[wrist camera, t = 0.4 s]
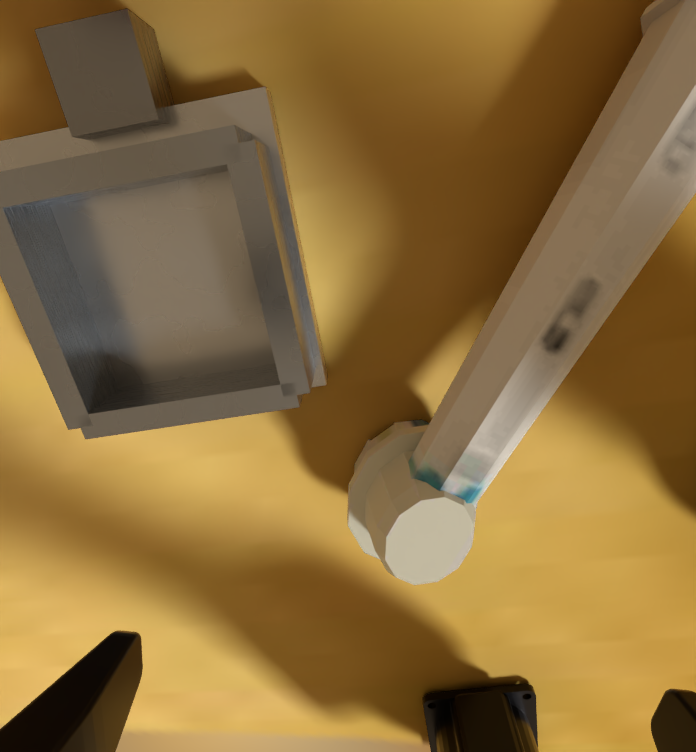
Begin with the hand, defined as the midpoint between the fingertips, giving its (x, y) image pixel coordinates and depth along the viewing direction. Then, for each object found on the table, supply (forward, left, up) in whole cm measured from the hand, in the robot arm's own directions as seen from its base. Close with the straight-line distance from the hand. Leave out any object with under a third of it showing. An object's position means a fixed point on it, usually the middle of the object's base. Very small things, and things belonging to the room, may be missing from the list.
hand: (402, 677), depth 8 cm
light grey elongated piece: (+3, -7, -14) cm, 16 cm away
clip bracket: (+7, +7, -14) cm, 17 cm away
